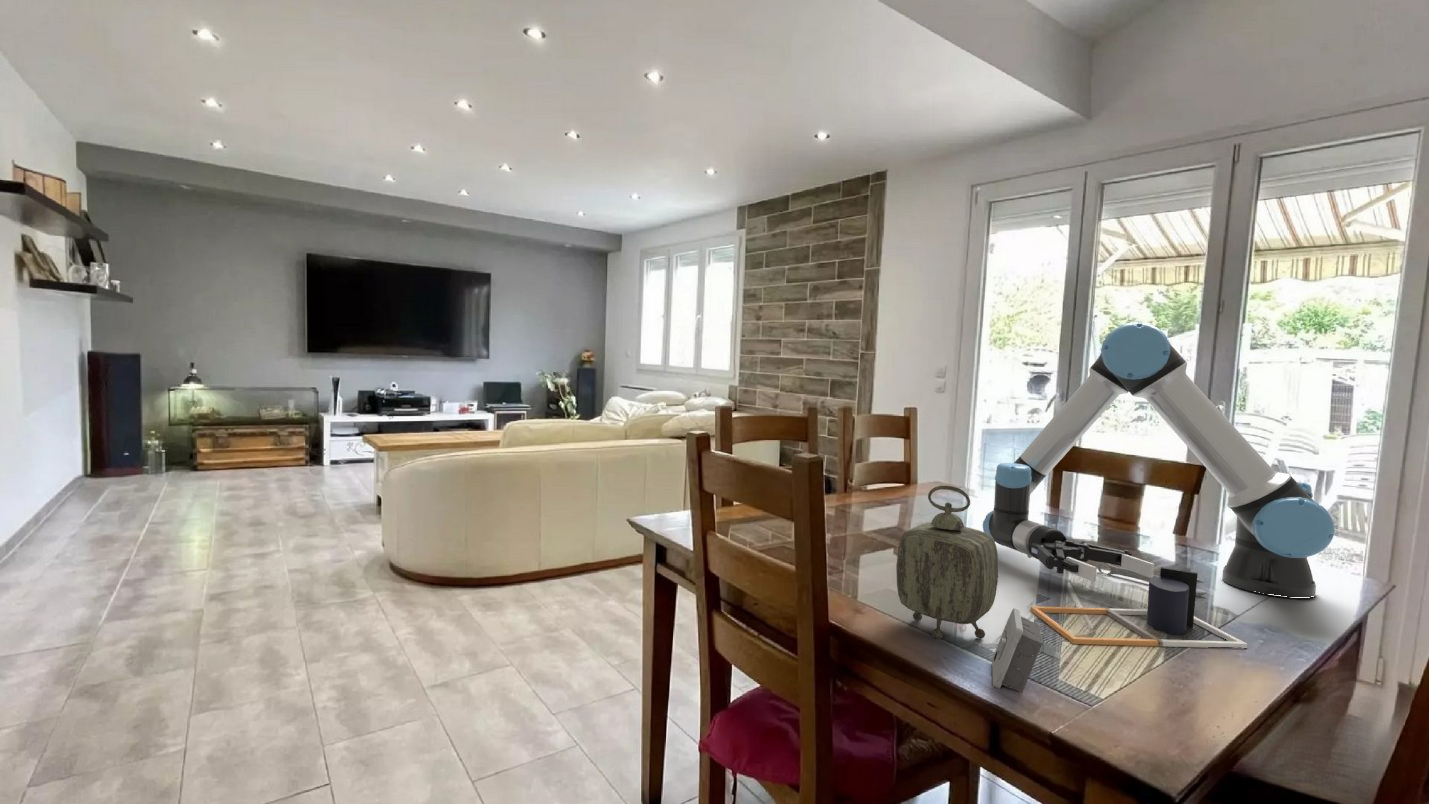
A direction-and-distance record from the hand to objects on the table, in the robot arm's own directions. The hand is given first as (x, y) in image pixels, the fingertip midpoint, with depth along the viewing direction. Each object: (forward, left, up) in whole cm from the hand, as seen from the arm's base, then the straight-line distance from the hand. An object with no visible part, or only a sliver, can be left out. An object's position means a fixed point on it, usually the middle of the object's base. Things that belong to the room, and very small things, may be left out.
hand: (1124, 572), depth 123 cm
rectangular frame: (+4, +10, -7) cm, 12 cm away
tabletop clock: (+39, +15, -7) cm, 42 cm away
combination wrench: (-15, -15, -7) cm, 23 cm away
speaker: (-3, +10, -7) cm, 12 cm away
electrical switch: (+34, +30, -7) cm, 46 cm away
